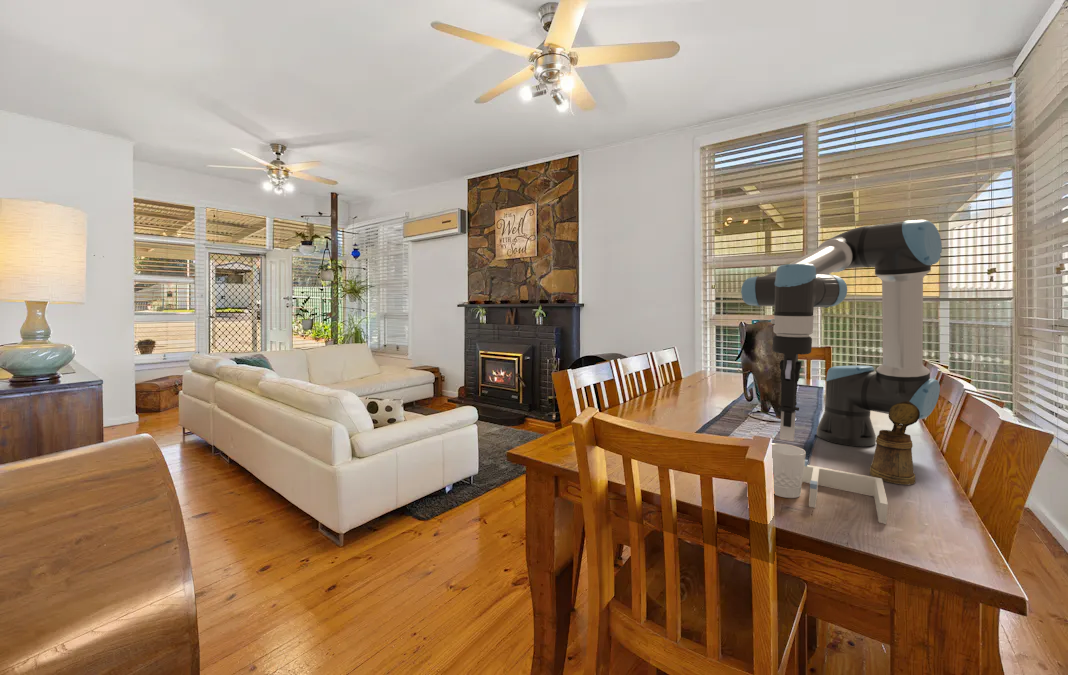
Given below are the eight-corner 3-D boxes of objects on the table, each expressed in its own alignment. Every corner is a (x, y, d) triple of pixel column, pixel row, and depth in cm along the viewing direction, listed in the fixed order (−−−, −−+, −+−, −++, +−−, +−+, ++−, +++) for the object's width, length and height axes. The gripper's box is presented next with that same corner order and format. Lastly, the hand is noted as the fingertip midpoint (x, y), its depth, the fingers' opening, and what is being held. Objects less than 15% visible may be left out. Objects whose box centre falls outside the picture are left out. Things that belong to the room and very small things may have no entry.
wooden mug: (925, 474, 112) (931, 404, 110) (909, 488, 104) (915, 412, 102) (882, 464, 119) (887, 397, 117) (863, 476, 111) (868, 404, 109)
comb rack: (758, 471, 113) (759, 451, 113) (880, 495, 100) (882, 473, 99) (747, 492, 101) (749, 470, 100) (886, 524, 87) (888, 498, 87)
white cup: (770, 481, 107) (772, 441, 106) (807, 492, 101) (810, 449, 100) (758, 491, 101) (760, 448, 101) (797, 503, 96) (799, 457, 95)
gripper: (776, 332, 106) (771, 429, 108) (769, 336, 95) (764, 444, 98) (813, 333, 102) (808, 434, 104) (810, 338, 91) (804, 451, 93)
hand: (786, 439), depth 101 cm, fingers closed
